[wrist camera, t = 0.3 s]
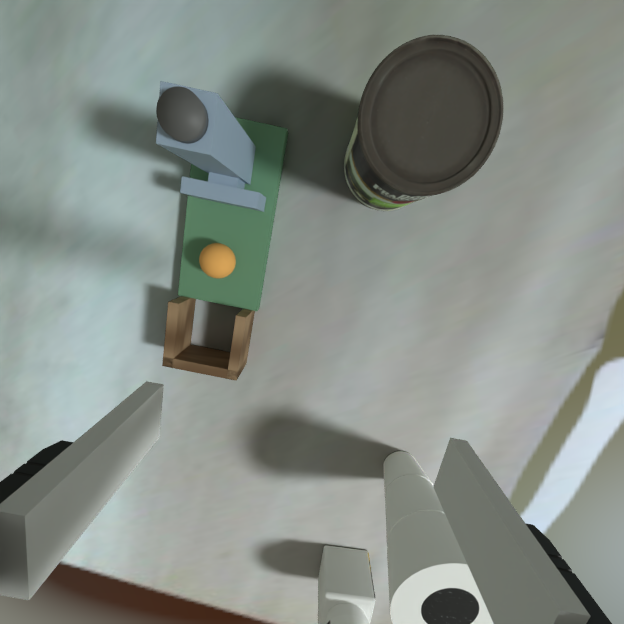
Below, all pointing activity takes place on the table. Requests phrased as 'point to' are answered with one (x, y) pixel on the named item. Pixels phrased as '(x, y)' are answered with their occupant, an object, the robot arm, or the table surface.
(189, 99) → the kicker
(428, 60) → the coffee can
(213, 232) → the plate
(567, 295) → the table surface
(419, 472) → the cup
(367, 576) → the medicine bottle
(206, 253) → the ball
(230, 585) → the table surface
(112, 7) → the table surface
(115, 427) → the robot arm
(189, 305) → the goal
